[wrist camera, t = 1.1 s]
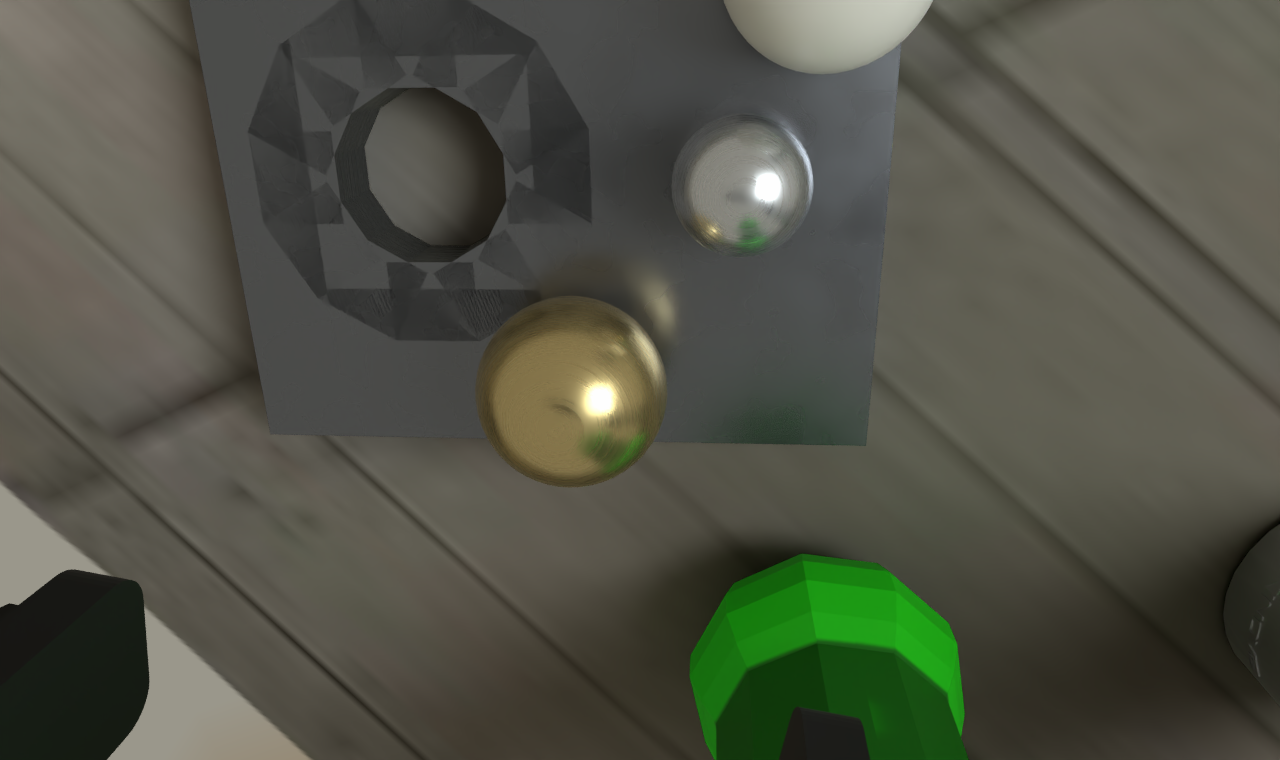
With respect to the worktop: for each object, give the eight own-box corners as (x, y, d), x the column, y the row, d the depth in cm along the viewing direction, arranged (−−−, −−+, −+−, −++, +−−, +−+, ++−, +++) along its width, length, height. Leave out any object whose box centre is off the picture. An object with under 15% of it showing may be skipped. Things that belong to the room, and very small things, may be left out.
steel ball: (809, 107, 25) (826, 117, 22) (802, 241, 27) (816, 272, 23) (674, 108, 26) (667, 119, 22) (674, 241, 27) (668, 272, 23)
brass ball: (671, 274, 28) (661, 330, 22) (671, 439, 30) (662, 526, 24) (493, 274, 28) (441, 328, 23) (506, 436, 30) (461, 521, 25)
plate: (900, -151, 25) (919, -172, 23) (854, 416, 31) (865, 445, 29) (210, -128, 27) (162, -144, 24) (301, 407, 33) (270, 434, 31)
